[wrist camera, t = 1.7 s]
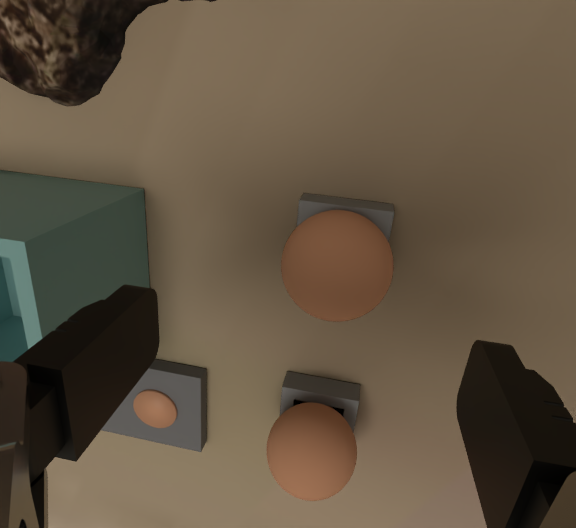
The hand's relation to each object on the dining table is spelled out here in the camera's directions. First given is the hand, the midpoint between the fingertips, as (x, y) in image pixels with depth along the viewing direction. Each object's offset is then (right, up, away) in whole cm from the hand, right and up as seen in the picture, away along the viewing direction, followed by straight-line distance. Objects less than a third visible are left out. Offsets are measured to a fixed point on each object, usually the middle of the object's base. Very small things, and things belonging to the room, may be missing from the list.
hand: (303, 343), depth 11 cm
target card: (-9, -5, +13) cm, 17 cm away
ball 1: (+1, +2, +5) cm, 5 cm away
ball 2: (+1, -6, +8) cm, 10 cm away
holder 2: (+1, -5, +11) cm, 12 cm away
